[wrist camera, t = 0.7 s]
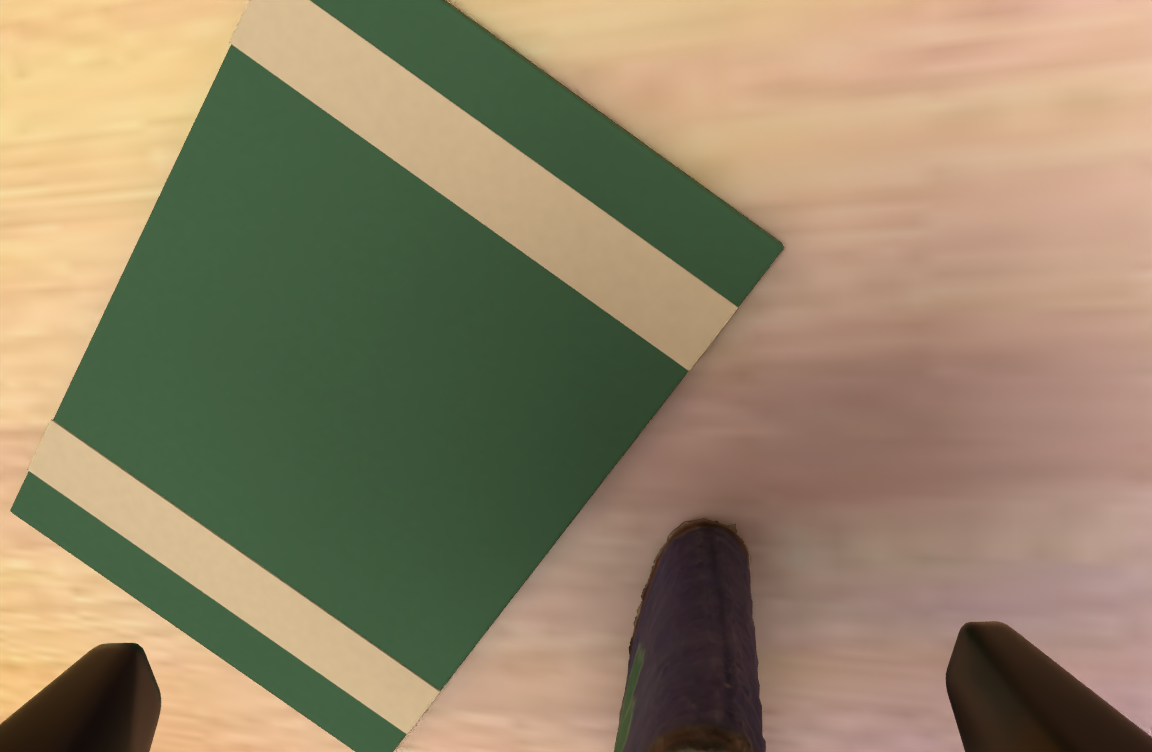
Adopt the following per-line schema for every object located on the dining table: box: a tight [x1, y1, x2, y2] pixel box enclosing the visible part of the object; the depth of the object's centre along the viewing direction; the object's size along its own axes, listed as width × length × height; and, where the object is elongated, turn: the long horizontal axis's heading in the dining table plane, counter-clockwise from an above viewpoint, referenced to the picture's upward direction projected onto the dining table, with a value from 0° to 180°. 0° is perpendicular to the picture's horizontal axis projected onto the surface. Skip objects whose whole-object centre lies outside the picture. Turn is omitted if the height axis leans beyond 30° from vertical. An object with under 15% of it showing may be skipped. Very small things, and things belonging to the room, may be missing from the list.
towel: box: [11, 0, 784, 752], centre depth 23 cm, size 14×20×1 cm
